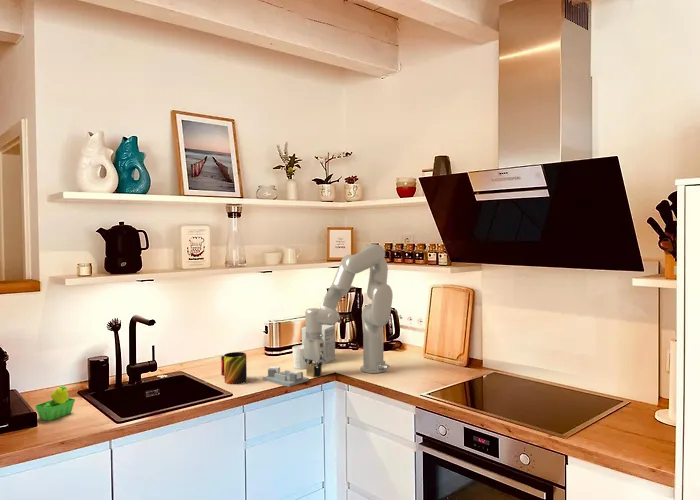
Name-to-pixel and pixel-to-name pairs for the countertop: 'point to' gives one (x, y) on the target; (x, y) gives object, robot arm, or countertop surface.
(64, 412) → the fruit basket
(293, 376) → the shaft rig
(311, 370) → the coupler
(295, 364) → the white cup
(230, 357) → the mug
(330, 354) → the supplement box
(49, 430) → the countertop surface
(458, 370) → the countertop surface
